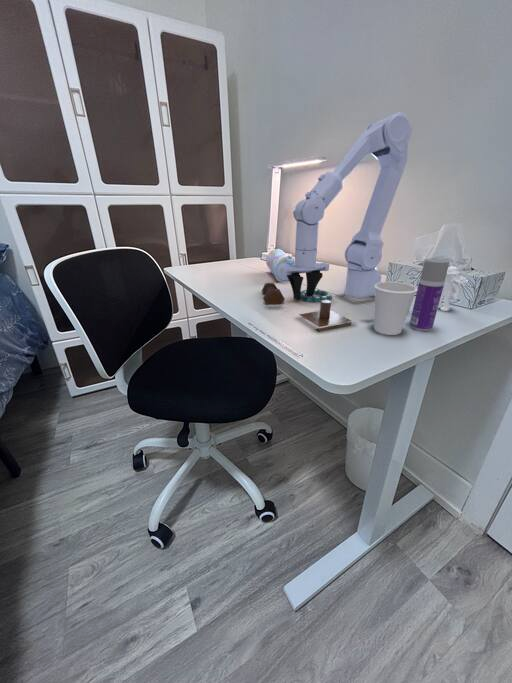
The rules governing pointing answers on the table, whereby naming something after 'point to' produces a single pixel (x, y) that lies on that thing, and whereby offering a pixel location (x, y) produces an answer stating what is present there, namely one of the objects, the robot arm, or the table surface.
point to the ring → (322, 293)
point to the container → (428, 294)
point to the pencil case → (279, 263)
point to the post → (326, 317)
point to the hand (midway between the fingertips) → (303, 298)
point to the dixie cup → (392, 306)
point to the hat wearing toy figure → (451, 286)
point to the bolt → (272, 294)
